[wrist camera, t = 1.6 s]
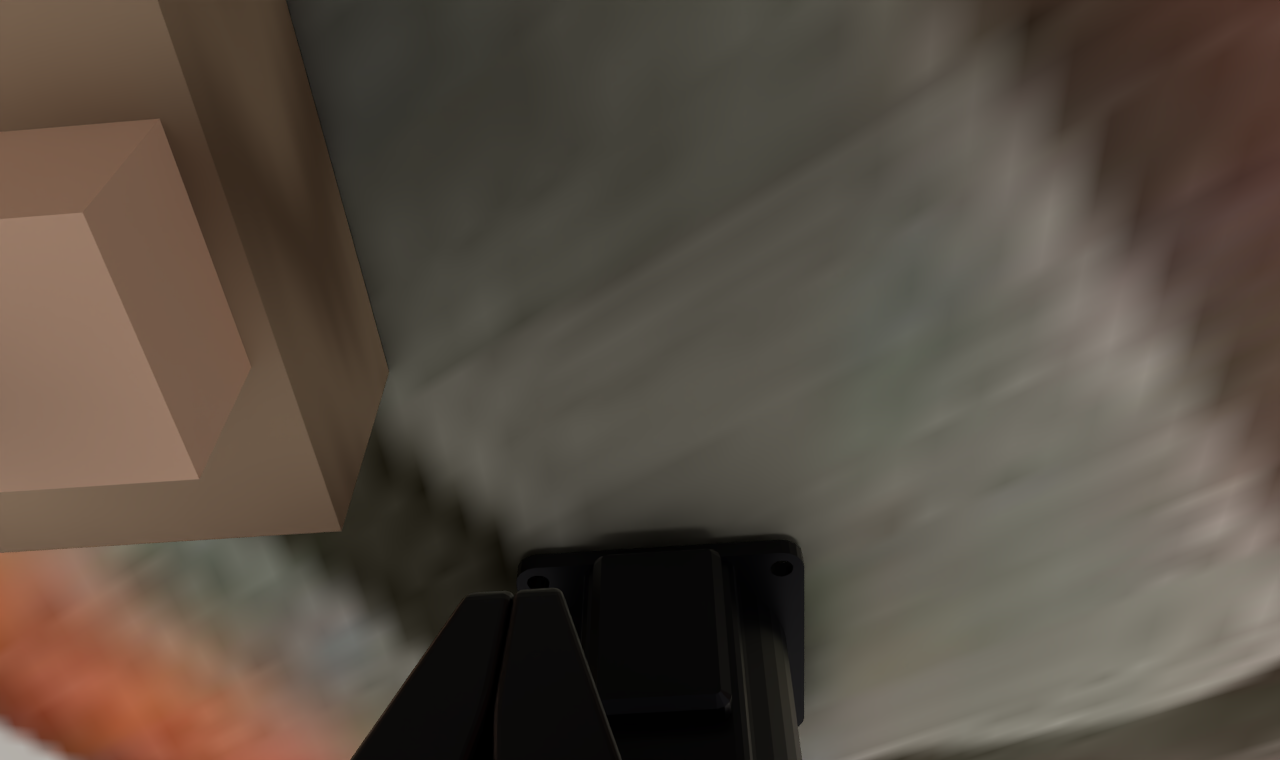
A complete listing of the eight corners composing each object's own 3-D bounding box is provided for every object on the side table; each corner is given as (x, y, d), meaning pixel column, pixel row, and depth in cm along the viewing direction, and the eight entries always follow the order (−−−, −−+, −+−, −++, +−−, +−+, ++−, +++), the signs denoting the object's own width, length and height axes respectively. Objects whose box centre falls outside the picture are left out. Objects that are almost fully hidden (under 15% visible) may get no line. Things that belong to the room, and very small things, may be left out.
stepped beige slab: (389, 372, 23) (341, 530, 19) (-43, 402, 23) (-169, 563, 19) (217, -248, 16) (93, -184, 12) (-385, -186, 16) (-673, -108, 13)
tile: (251, 367, 17) (199, 479, 15) (-6, 385, 17) (-91, 498, 15) (158, 118, 14) (82, 212, 12) (-138, 143, 15) (-261, 239, 13)
